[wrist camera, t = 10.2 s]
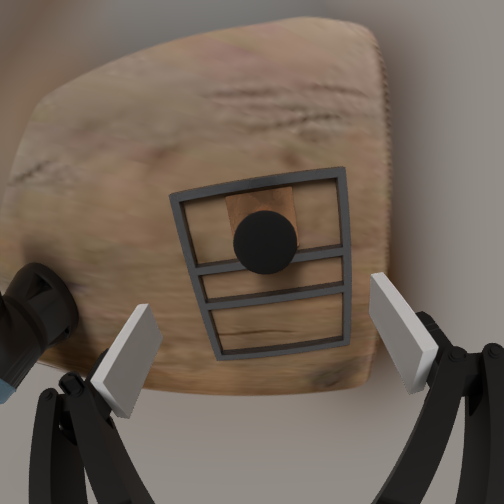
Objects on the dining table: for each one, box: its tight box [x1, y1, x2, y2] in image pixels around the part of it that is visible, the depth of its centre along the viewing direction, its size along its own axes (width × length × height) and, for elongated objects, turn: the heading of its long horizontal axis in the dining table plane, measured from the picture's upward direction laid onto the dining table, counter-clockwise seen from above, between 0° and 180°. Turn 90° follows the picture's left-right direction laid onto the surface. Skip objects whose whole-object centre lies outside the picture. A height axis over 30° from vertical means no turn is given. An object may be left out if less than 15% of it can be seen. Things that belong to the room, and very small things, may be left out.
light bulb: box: [233, 210, 297, 274], centre depth 27 cm, size 6×6×10 cm
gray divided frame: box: [169, 166, 352, 361], centre depth 34 cm, size 20×25×1 cm
